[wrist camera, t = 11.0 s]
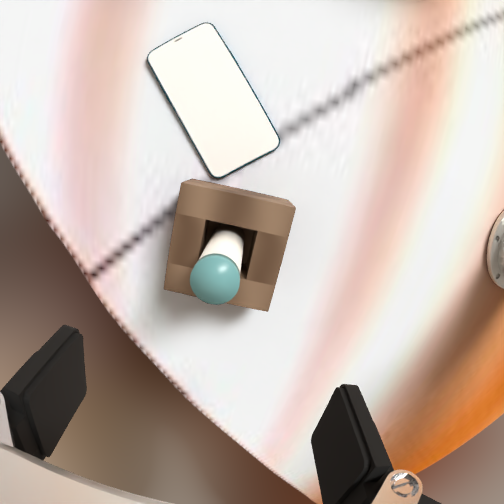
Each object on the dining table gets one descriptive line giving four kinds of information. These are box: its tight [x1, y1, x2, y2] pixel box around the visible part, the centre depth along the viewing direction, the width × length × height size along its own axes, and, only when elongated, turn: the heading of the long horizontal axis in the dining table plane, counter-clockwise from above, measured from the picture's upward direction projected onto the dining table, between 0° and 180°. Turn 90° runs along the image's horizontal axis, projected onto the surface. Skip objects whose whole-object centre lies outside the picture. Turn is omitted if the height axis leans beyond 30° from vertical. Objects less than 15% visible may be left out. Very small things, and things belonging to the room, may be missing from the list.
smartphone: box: [147, 23, 280, 178], centre depth 30 cm, size 8×1×16 cm
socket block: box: [164, 179, 296, 312], centre depth 31 cm, size 10×10×6 cm
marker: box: [190, 224, 244, 305], centre depth 27 cm, size 3×3×12 cm
